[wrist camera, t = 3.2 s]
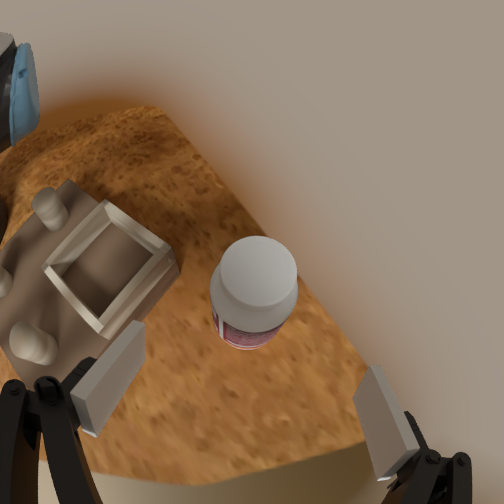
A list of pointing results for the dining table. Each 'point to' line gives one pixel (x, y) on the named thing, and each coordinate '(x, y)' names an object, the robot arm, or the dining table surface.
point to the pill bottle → (253, 291)
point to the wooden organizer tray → (76, 281)
